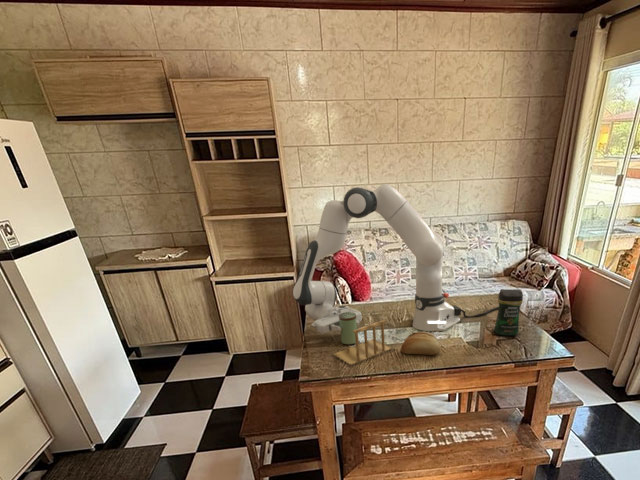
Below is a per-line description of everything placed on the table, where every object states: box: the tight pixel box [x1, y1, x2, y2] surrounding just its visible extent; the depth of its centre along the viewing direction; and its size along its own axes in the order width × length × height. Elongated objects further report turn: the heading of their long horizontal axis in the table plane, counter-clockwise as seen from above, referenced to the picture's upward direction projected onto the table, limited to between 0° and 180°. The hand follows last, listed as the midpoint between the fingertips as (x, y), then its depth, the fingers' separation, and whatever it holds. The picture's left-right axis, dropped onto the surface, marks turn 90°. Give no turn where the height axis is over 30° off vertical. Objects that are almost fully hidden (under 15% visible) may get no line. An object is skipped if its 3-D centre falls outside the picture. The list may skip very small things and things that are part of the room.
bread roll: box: [400, 331, 442, 356], centre depth 155 cm, size 10×15×8 cm, turn 87°
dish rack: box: [333, 319, 392, 365], centre depth 156 cm, size 20×12×13 cm, turn 130°
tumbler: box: [339, 312, 358, 345], centre depth 163 cm, size 7×7×11 cm
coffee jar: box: [494, 288, 524, 337], centre depth 166 cm, size 10×8×19 cm
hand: (349, 326), depth 162 cm, fingers closed on tumbler, 7 cm apart
